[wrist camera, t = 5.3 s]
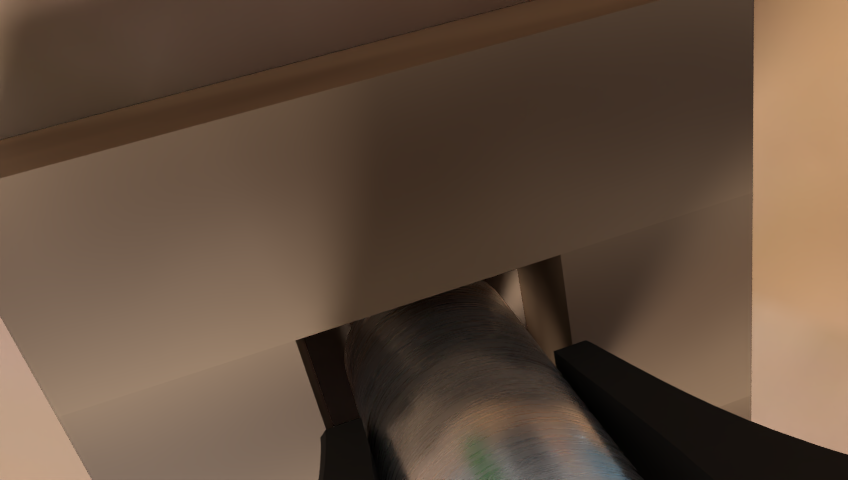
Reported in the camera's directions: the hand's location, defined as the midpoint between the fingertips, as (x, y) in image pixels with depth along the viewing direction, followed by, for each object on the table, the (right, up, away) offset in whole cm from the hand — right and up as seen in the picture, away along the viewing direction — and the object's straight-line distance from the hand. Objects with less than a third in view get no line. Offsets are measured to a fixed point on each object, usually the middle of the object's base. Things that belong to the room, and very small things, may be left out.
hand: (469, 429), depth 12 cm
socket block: (-1, +1, +3) cm, 3 cm away
